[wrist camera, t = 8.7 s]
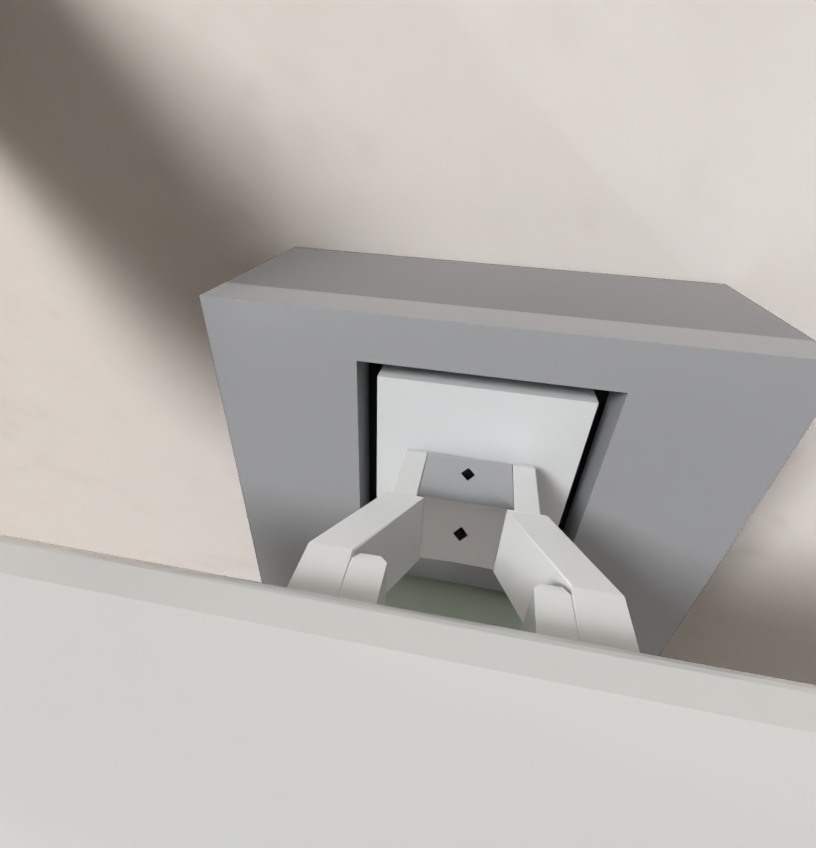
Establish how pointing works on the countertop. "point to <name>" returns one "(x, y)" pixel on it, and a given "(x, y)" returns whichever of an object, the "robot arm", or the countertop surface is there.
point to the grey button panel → (519, 360)
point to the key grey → (484, 425)
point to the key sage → (454, 601)
